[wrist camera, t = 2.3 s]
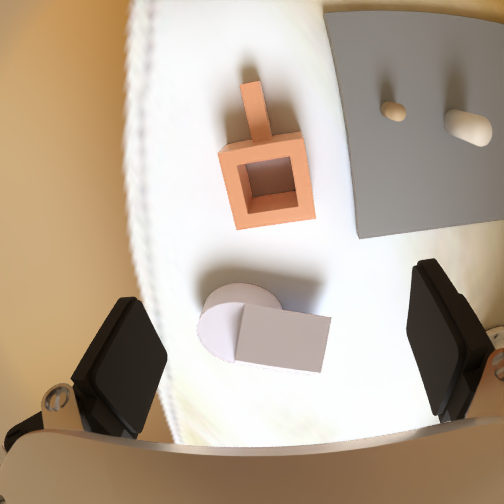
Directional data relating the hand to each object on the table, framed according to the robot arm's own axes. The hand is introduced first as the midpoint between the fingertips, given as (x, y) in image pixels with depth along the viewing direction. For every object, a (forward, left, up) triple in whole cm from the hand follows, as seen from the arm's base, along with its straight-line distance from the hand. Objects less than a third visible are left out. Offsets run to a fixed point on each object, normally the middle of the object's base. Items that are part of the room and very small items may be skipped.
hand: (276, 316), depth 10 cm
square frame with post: (+2, +1, -19) cm, 19 cm away
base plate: (+3, -16, -19) cm, 25 cm away
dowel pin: (+4, -9, -18) cm, 21 cm away
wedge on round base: (-16, +5, -20) cm, 26 cm away
